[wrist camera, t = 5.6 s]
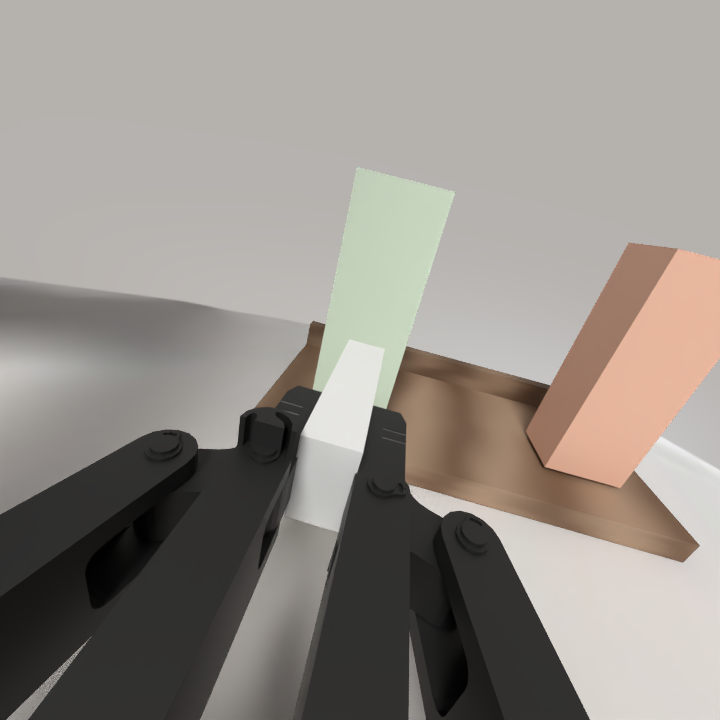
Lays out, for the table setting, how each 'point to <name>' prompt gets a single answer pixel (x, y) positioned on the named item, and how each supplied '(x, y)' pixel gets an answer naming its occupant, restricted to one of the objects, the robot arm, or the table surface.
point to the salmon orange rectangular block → (631, 364)
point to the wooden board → (500, 451)
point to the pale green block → (382, 271)
